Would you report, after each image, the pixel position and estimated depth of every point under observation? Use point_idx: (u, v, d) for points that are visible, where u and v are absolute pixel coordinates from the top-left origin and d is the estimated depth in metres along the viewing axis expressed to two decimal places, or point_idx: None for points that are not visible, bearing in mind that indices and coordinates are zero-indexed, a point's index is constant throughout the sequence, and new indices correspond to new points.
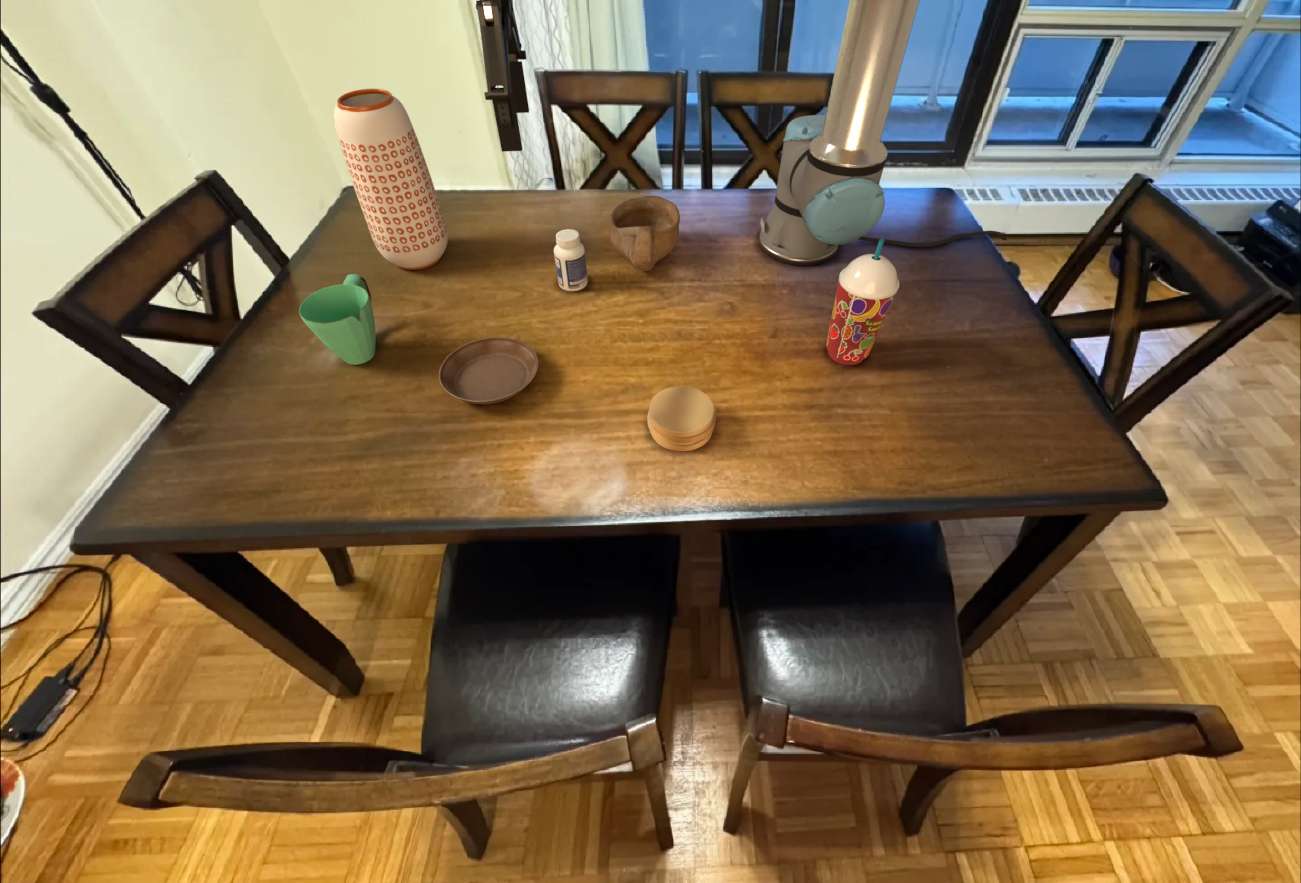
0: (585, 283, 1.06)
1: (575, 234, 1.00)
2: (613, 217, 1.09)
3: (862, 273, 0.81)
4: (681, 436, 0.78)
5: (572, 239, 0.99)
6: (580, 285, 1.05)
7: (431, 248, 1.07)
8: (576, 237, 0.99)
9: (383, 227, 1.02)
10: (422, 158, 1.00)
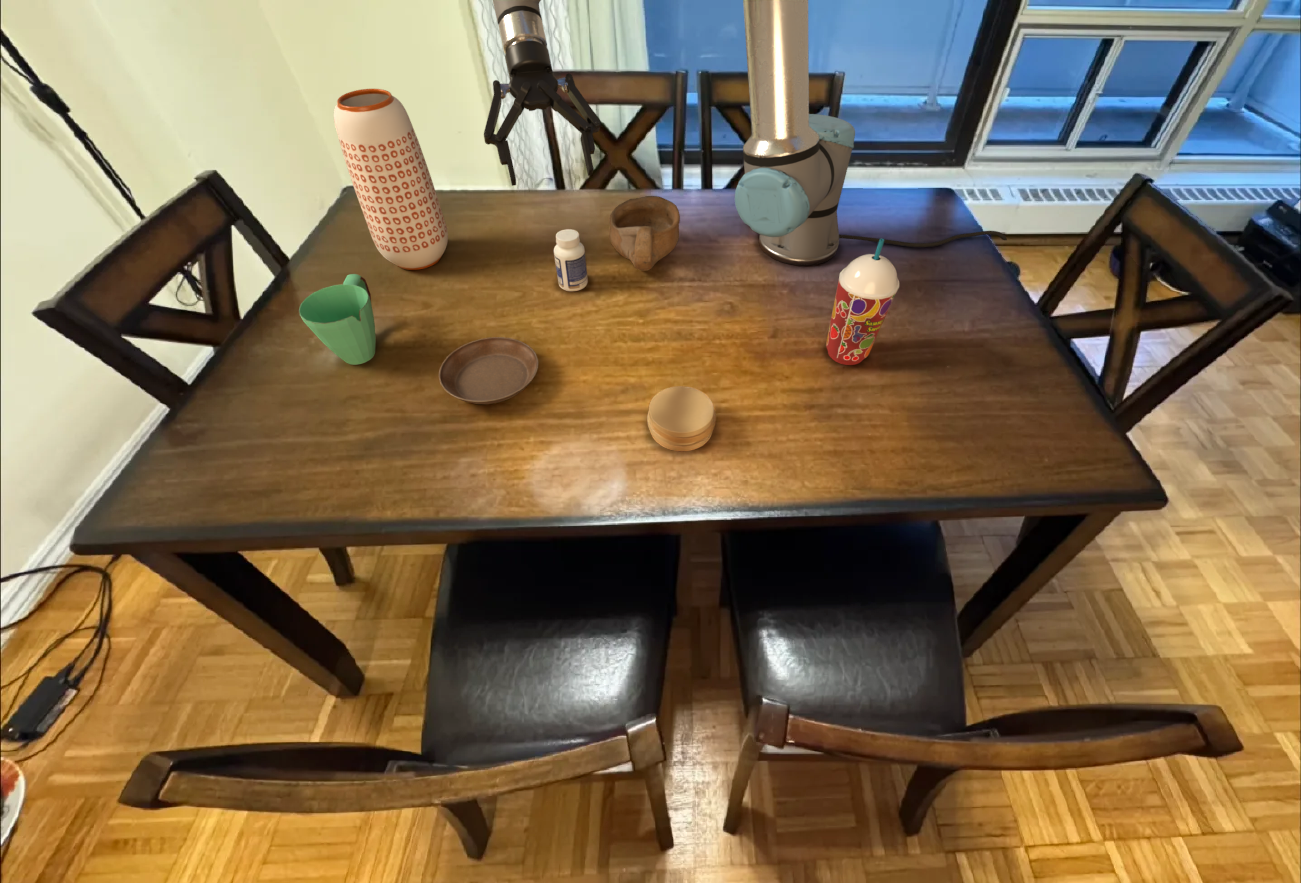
0: (585, 283, 1.06)
1: (575, 234, 1.00)
2: (613, 217, 1.09)
3: (862, 273, 0.81)
4: (681, 436, 0.78)
5: (572, 239, 0.99)
6: (580, 285, 1.05)
7: (431, 248, 1.07)
8: (576, 237, 0.99)
9: (383, 227, 1.02)
10: (422, 158, 1.00)
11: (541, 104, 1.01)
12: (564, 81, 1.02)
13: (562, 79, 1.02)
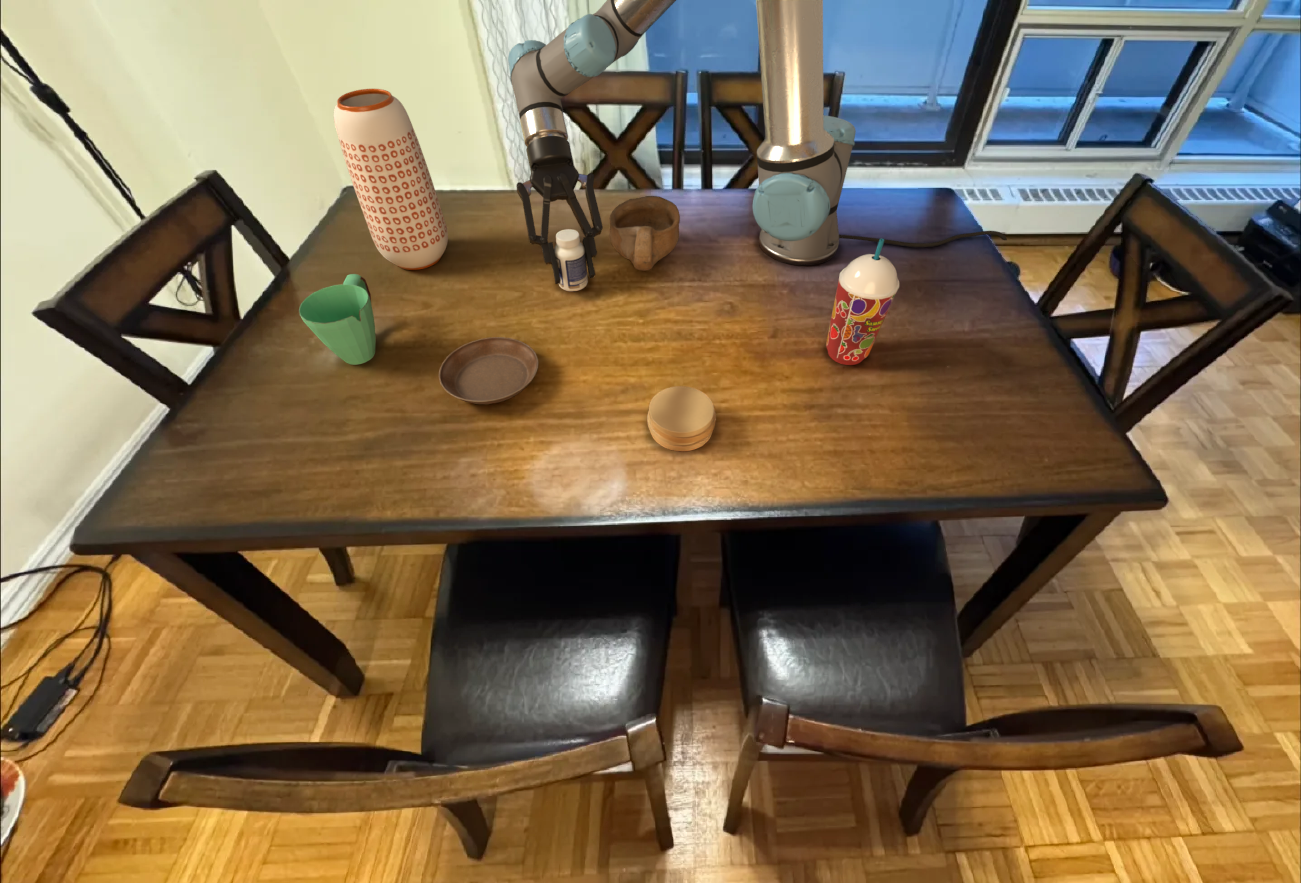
0: (585, 283, 1.06)
1: (575, 234, 1.00)
2: (613, 217, 1.09)
3: (862, 273, 0.81)
4: (681, 436, 0.78)
5: (572, 239, 0.99)
6: (580, 285, 1.05)
7: (431, 248, 1.07)
8: (576, 237, 0.99)
9: (383, 227, 1.02)
10: (422, 158, 1.00)
11: (562, 196, 1.01)
12: (585, 178, 1.02)
13: (584, 175, 1.02)
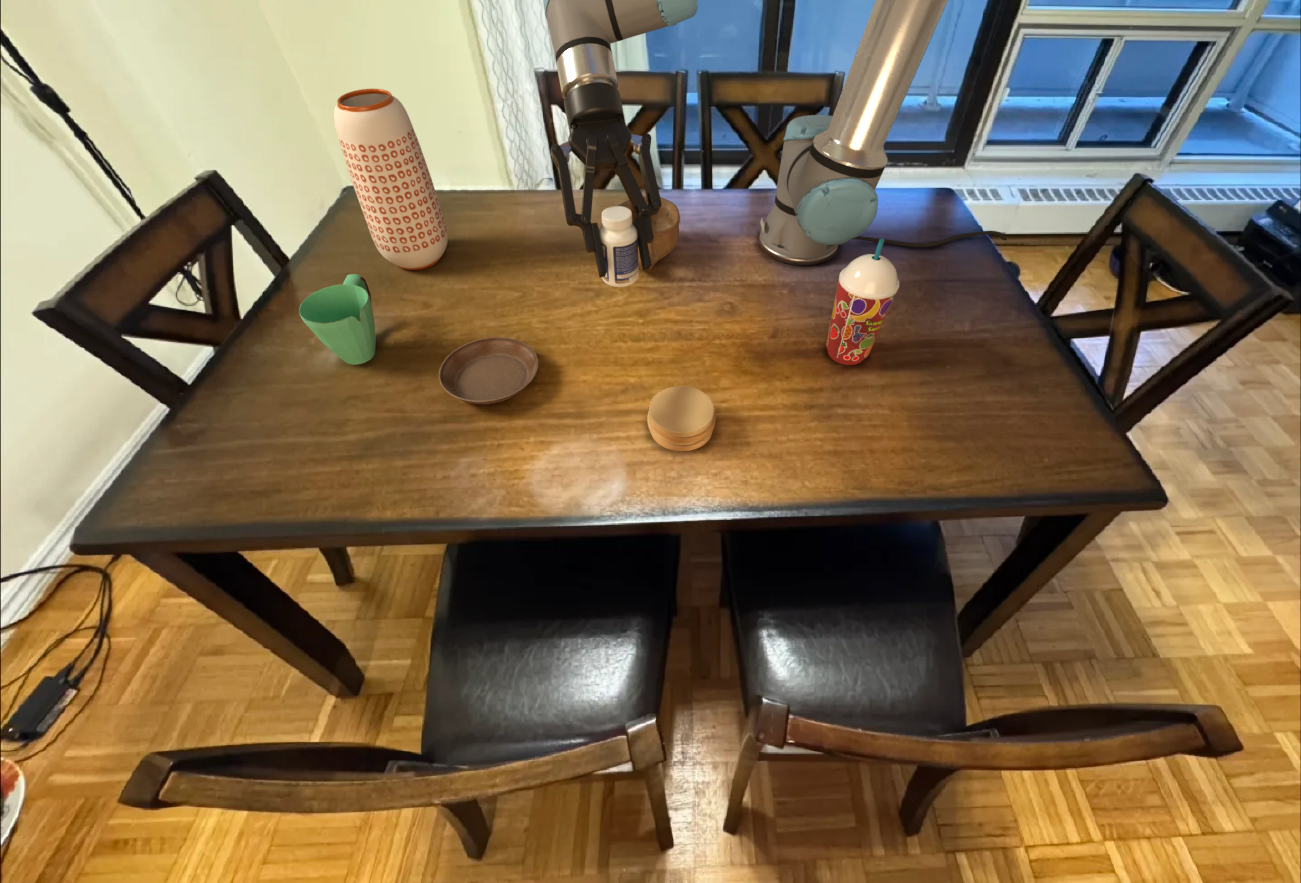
0: (636, 277, 0.83)
1: (627, 212, 0.77)
2: None
3: (862, 273, 0.81)
4: (681, 436, 0.78)
5: (623, 219, 0.76)
6: (630, 279, 0.82)
7: (431, 248, 1.07)
8: (628, 216, 0.76)
9: (383, 227, 1.02)
10: (422, 158, 1.00)
11: (609, 163, 0.77)
12: (639, 140, 0.78)
13: (638, 137, 0.78)
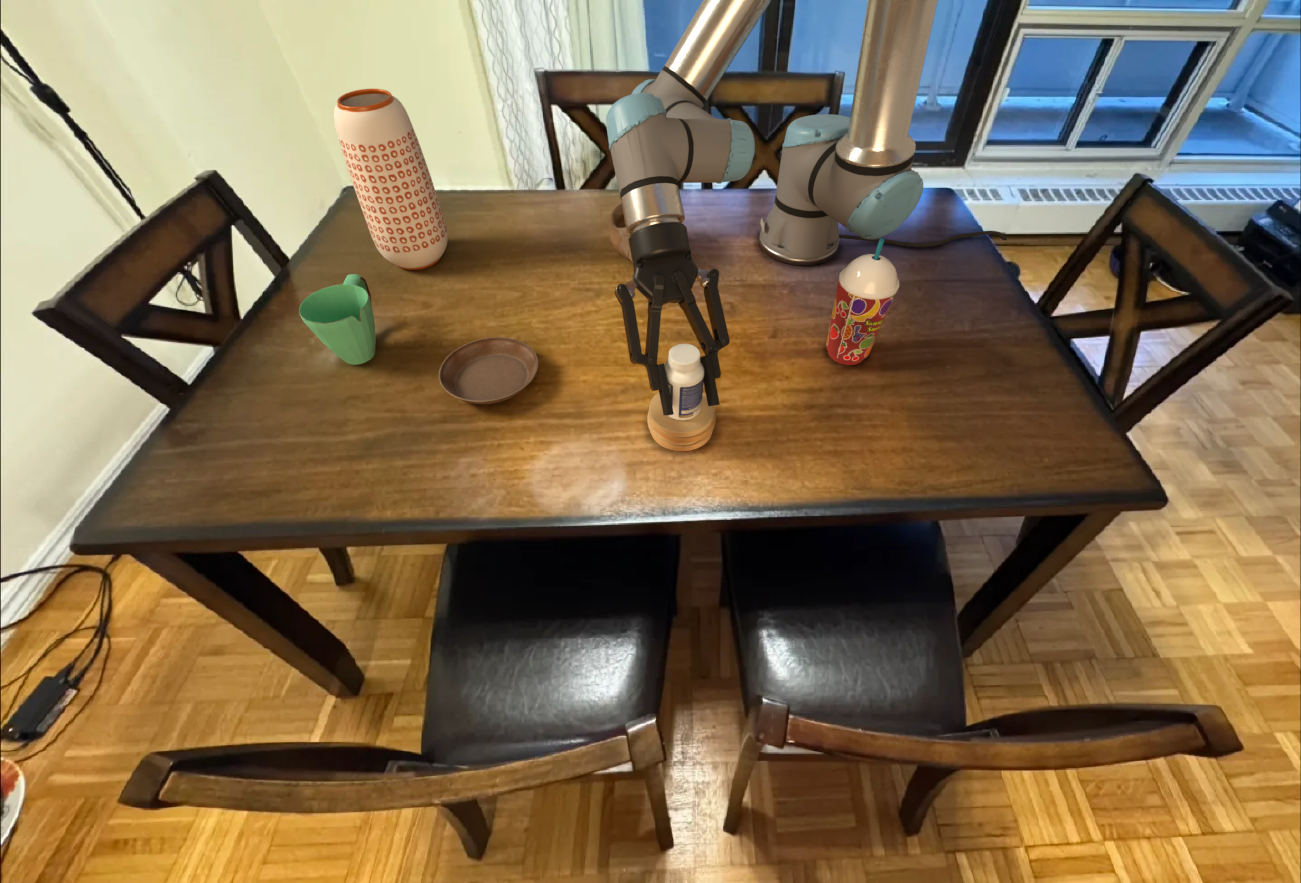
0: (699, 409, 0.79)
1: (695, 352, 0.73)
2: (613, 217, 1.09)
3: (862, 273, 0.81)
4: (681, 436, 0.78)
5: (692, 362, 0.72)
6: (694, 413, 0.78)
7: (431, 248, 1.07)
8: (697, 357, 0.73)
9: (383, 227, 1.02)
10: (422, 158, 1.00)
11: (676, 300, 0.74)
12: (706, 275, 0.75)
13: (705, 271, 0.75)
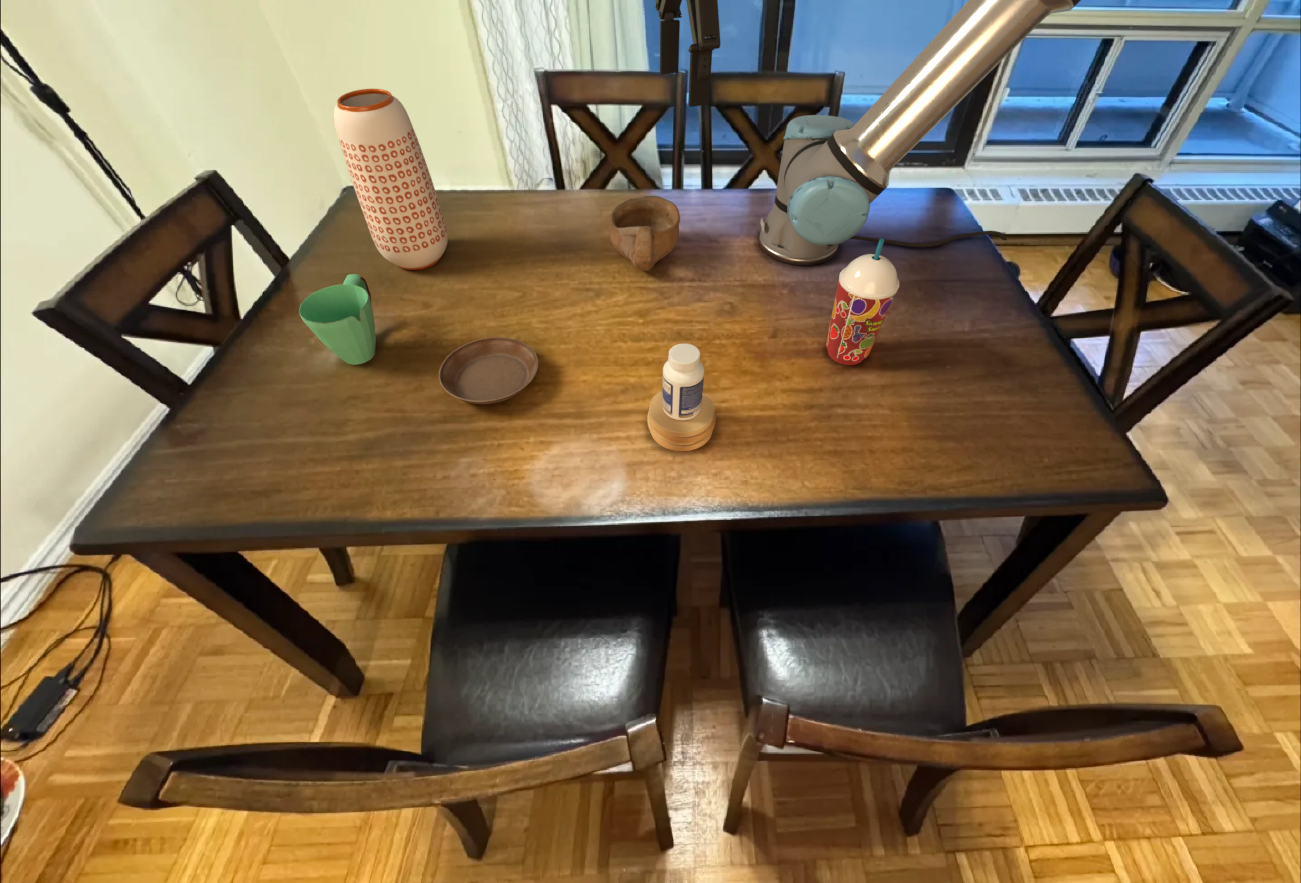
0: (699, 409, 0.79)
1: (695, 352, 0.73)
2: (613, 217, 1.09)
3: (862, 273, 0.81)
4: (681, 436, 0.78)
5: (693, 361, 0.72)
6: (694, 413, 0.78)
7: (431, 248, 1.07)
8: (697, 357, 0.73)
9: (383, 227, 1.02)
10: (422, 158, 1.00)
11: None
12: None
13: None
